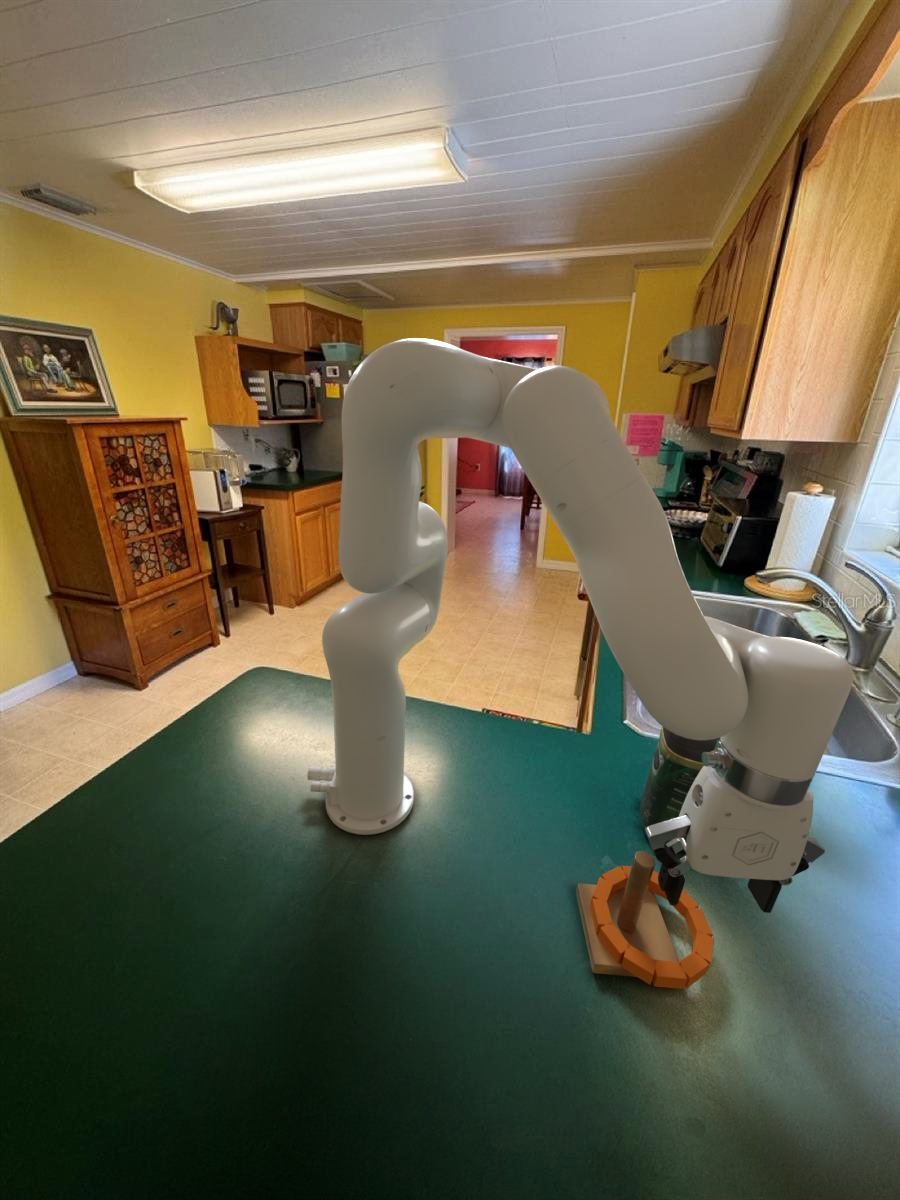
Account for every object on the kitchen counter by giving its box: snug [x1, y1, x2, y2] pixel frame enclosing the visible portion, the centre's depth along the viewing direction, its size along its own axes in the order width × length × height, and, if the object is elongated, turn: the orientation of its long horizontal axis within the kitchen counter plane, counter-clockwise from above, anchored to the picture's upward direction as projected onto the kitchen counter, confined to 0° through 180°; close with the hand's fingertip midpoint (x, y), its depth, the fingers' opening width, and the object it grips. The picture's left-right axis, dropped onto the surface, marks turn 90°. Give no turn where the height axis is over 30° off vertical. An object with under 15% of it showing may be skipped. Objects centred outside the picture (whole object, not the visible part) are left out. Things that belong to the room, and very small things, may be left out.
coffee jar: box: [639, 725, 720, 852], centre depth 64 cm, size 10×8×19 cm
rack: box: [575, 850, 680, 978], centre depth 51 cm, size 9×9×12 cm
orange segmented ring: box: [590, 865, 715, 990], centre depth 52 cm, size 12×12×2 cm
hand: (712, 895), depth 50 cm, fingers open, 9 cm apart
